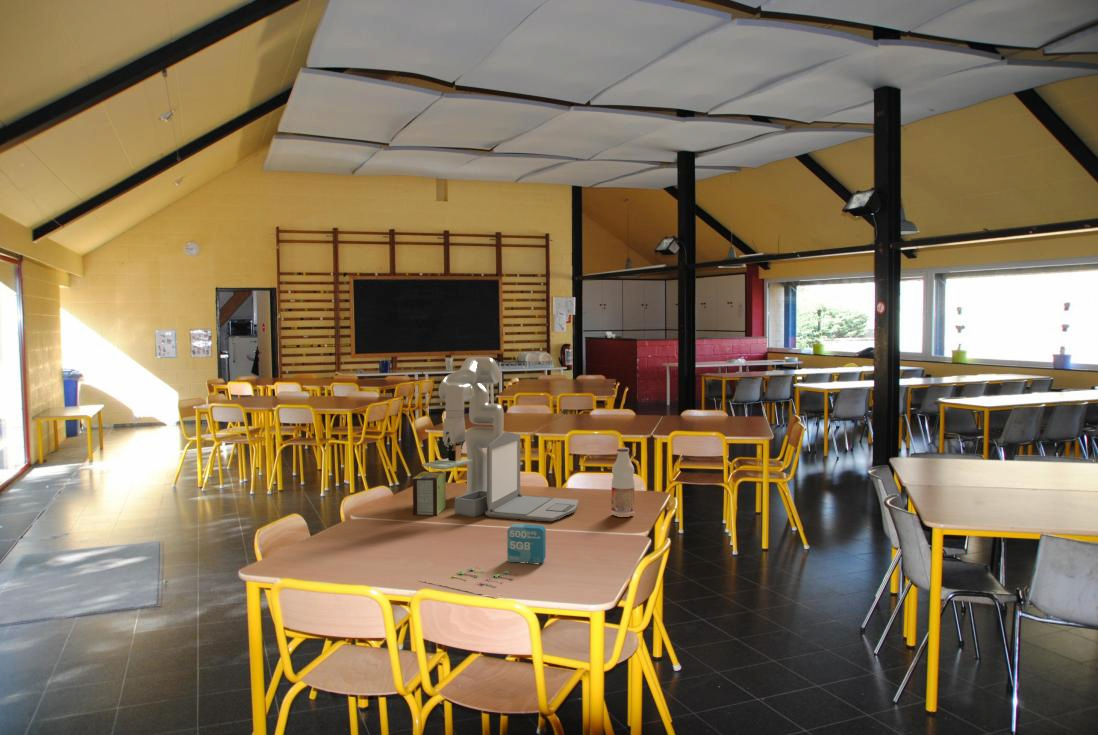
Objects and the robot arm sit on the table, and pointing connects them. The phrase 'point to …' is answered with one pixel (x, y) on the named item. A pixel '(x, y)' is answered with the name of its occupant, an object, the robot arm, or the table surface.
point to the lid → (449, 461)
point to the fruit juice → (622, 484)
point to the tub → (471, 504)
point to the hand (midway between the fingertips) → (454, 459)
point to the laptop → (516, 486)
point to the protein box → (429, 493)
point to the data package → (526, 543)
